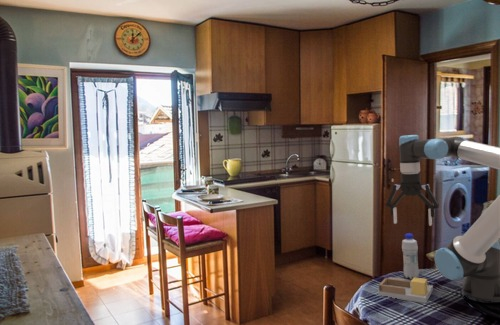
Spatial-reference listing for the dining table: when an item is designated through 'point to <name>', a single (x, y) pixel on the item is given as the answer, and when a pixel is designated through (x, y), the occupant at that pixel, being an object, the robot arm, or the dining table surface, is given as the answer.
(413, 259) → the bottle
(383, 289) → the cubby deck
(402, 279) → the crook tool
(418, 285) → the block
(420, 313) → the dining table surface
